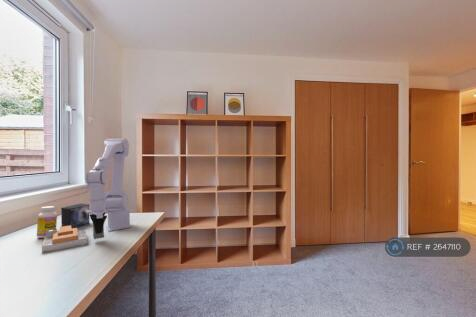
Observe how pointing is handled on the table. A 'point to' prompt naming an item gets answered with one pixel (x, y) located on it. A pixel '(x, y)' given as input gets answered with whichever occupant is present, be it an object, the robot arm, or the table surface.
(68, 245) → the peg hole board
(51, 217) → the supplement bottle
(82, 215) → the small box
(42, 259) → the table surface
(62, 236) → the bracket
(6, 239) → the table surface
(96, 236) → the grey metal square peg
